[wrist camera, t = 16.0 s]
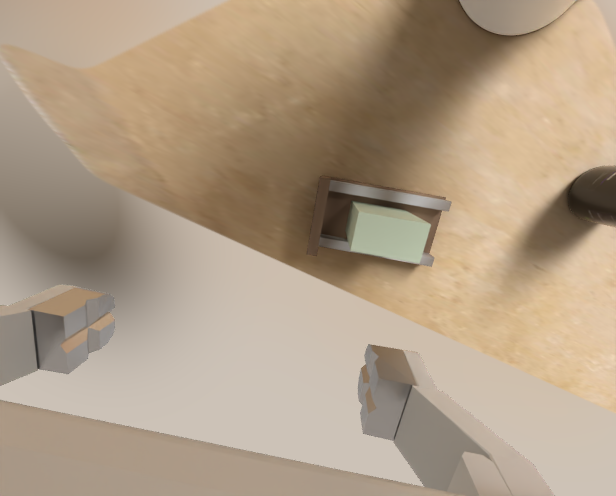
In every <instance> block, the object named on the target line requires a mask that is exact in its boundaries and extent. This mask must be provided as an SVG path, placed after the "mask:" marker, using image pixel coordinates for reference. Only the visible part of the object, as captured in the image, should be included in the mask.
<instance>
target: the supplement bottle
mask: <svg viewBox="0 0 616 496" xmlns="http://www.w3.org/2000/svg"><path fill="white" fill-rule="evenodd" d="M568 204H569V207H570V209H571V211H572V213H573V214H574V215H575V216H577V217H578V218H580V219H582V220H585V221H590V222H594V223H598V224H603V225H607V226H612V227H616V166H600V167H596V168H593V169H591V170H589V171H587V172H585V173H584V174H582V175H581V176H580V177H579V178H578V179H577V180H576V181H575V182H574V184H573V185H572V187H571V189H570V191H569V195H568Z"/></svg>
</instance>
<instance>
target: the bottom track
mask: <svg viewBox="0 0 616 496" xmlns="http://www.w3.org/2000/svg"><path fill="white" fill-rule="evenodd" d="M445 199H446V198H445V197H440V196H435V195H429V194H423V193H417V192H412V191H406V190H400V189H395V188H389V187H383V186H378V185H372V184H366V183H360V182H355V181H349V180H343V179H338V178H332V177H326V176H321V177H320V180H319V186H318V192H317V197H316V203H315V209H314V215H313V220H312V226H311V232H310V238H309V243H308V249H307V254H308V255H313V256H317V251H318V246H321V247H326V248H332V249H337V250H343V251H348V252H354V253H359V254H365V253H360V252H355V251H350V247H349V243H348V239H347V235H346V231H345V230H346V225H347V220H348V215H349V210H350V206H351V201H356V202H362V203H368V204H373V205H379V206H385V207H390V208H396V209H401V210H406V211H407V212H409V213H411V214H413V215H415V216H417V217H418V218H420V219H422V220H424V221H426V222H428V223H429V224H431V227H430V230H429V234H428V237H427V240H426V244H425V247H424V251H423V254H422V258H421V261H420V263H415V262H409V261H404V260H398V259H393V258H387V257H382V256H376V255H371V254H365V255H370V256H376V257H381V258H387V259H392V260H398V261H403V262H409V263H414V264H420V265H425V266H431V267H432V264H433V261H434V257H433V256H432V255H430V254H429V253H430V249H431V246H432V243H433V239H434V236H435V233H436V229H437V226H438V222H439V219H440V216H441V212H442V211H448V212H449V209H450V205H451V201H447V200H445Z"/></svg>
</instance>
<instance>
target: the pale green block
mask: <svg viewBox="0 0 616 496" xmlns="http://www.w3.org/2000/svg"><path fill="white" fill-rule="evenodd" d="M430 227H431V224H429V223H428V222H426V221H424V220H422V219H420V218H418V217H417V216H415V215H413V214H411V213H409V212H407V211H406V210H401V209H396V208H390V207H385V206H379V205H373V204H368V203H362V202H356V201H351V206H350V210H349V215H348V220H347V225H346V230H345V231H346V235H347V239H348V243H349V247H350V251H355V252H360V253H365V254H371V255H376V256H382V257H387V258H393V259H398V260H404V261H409V262H415V263H420V261H421V258H422V254H423V251H424V247H425V244H426V240H427V237H428V234H429V230H430Z"/></svg>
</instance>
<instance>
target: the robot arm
mask: <svg viewBox="0 0 616 496" xmlns="http://www.w3.org/2000/svg"><path fill="white" fill-rule="evenodd" d="M459 1H460V3H461V5H462V7H463V9H464V10H465V12H466V13H467V14H468V16H469V17H470V18H471V19H472V20H473V21H474V22H475V23H476V24H478V25H479V26H480V27H482V28H484V29H486V30H488V31H490V32H493V33H496V34H501V35H521V34H526V33H530V32H533V31H535V30H538V29H540V28H542V27H544V26H546V25H548V24H549V23H551V22H553V21H554V20H555V19H557V18H558V17H559V16H561V15H562V14H563V13H564V12H565V11H566V10H567V9H568V8H569V7H570V6H571V5H572V4H573V3H574V2H575V1H577V0H459ZM114 308H115V304H114V297H113V296H112V295H111V294H108V293H103V292H99V291H94V290H90V289H85V288H79V287H76V286H70V285H61V284H60V285H57V286H55V287H52V288H50V289H47V290H45V291H43V292H40V293H38V294H36V295H33V296H31V297H28V298H26V299H24V300H21V301H19V302H16V303H14V304H12V305H9V306H5V305H0V386H1V385H4V384H6V383H9V382H11V381H13V380H16V379H18V378H20V377H23V376H26V375H28V374H30V373H33V372H35V371H37V370H38V369H41V370H48V371H53V372H59V373H65V374H69V373H70V372H72V371H73V370H74V369H75V368H77V367H78V366H79V365H80V364H82V363H83V362H84V361H86V360H87V359H88V355H89V353H91V352H94V351H96V350H99V349H101V348H102V347H103V346H105V345H106V344H107V343H108V342H109V340H110V338H111V337H112V335H113V333H114V329H115V319H114V318H113V316H112V315H111V313H110V312H111V311H112V310H113V309H114ZM365 361H366V365H365V366H363V367H362V368H361V372H360V376H359V383H358V398H359V402H360V403H361V404H362V409H361V412H360V414H361V422H362V430H363V434H367V435H371V436H375V437H380V438H384V439H388V440H393V441H394V443H395V445H396V446H397V448H398V449H399V451H400V452H401V454H402V455H403V456H404V458H405V459H406V461H407V462H408V464H409V465H410V466H411V468H412V469H413V471H414V472H415V474H416V475H417V477H418V478H419V479H420V481H421V482H422V484H423V485H424V487H422V486H417V485H412V484H407V483H402V482H398V481H393V480H388V479H383V478H377V477H373V476H368V475H363V474H358V473H353V472H348V471H342V470H338V469H333V468H328V467H324V466H319V465H314V464H309V463H304V462H300V461H295V460H290V459H285V458H280V457H275V456H270V455H265V454H261V453H256V452H251V451H246V450H241V449H236V448H231V447H227V446H222V445H217V444H213V443H207V442H203V441H198V440H193V439H188V438H183V437H178V436H173V435H169V434H164V433H159V432H154V431H149V430H144V429H139V428H134V427H129V426H124V425H120V424H114V423H109V422H105V421H100V420H94V419H90V418H85V417H80V416H75V415H70V414H65V413H61V412H56V411H51V410H46V409H41V408H37V407H32V406H27V405H22V404H17V403H12V402H7V401H3V400H0V496H555V495H554V494H553V492H552V491H551V489H550V488H549V486H548V485H547V483H546V482H545V480H544V479H543V478H542V476H541V475H540V473H539V472H538V471H537V469H536V467H535V466H534V464H532V463H531V462H530V461H529V460H528V459H526V458H525V457H524V456H522V455H521V454H520V453H519V452H518V451H516V450H515V449H514V448H513V447H511V446H510V445H509V444H508V443H506V442H505V441H504V440H503V439H501V438H500V437H499V436H498V435H496V434H495V433H494V432H493V431H492V430H490V429H489V428H488V427H487V426H485V425H484V424H483V423H482V422H480V421H479V420H478V419H477V418H475V417H474V416H473V415H472V414H470V413H469V412H468V411H467V410H466V409H464V408H463V407H462V406H460V405H459V404H458V403H457V402H456V401H454V400H453V399H451V397H449V396H448V395H447V394H446V393H444V392H443V391H439V390H437V388H436V386H435V384H434V382H433V380H432V378H431V376H430V374H429V372H428V370H427V368H426V366H425V364H424V362H423V360H422V358H421V356H420V354H419V353H418V352H413V351H407V350H400V349H394V348H388V347H382V346H376V345H370V344H369V345H368V346H367V349H366V352H365Z"/></svg>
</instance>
